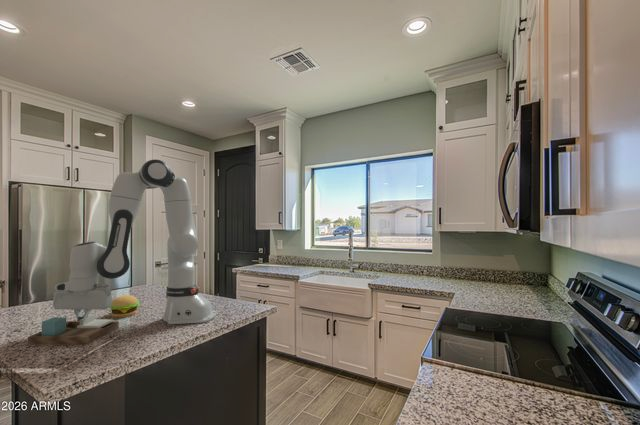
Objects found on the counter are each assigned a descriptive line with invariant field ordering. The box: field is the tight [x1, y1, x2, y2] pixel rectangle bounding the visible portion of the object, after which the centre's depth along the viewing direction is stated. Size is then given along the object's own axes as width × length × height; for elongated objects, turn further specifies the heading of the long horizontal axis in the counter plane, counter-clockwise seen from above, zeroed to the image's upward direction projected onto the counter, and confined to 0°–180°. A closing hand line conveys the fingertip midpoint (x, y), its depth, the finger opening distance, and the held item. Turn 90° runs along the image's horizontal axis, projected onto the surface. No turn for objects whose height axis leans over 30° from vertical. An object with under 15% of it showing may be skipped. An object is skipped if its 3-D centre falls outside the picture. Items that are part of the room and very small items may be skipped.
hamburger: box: [109, 294, 141, 318], centre depth 135 cm, size 12×12×9 cm
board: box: [27, 320, 120, 346], centre depth 107 cm, size 20×16×4 cm
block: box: [41, 316, 67, 336], centre depth 103 cm, size 4×4×7 cm
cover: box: [77, 314, 114, 328], centre depth 111 cm, size 8×8×3 cm
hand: (82, 320), depth 111 cm, fingers closed
